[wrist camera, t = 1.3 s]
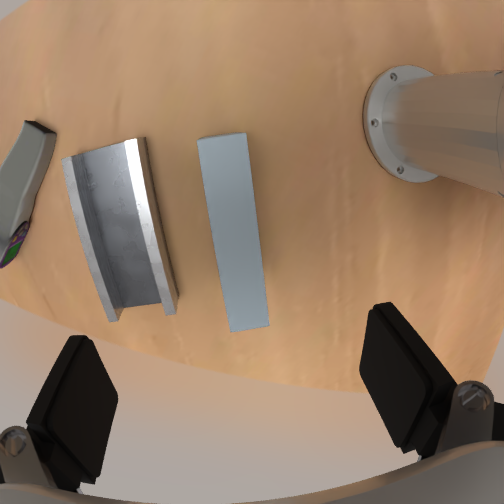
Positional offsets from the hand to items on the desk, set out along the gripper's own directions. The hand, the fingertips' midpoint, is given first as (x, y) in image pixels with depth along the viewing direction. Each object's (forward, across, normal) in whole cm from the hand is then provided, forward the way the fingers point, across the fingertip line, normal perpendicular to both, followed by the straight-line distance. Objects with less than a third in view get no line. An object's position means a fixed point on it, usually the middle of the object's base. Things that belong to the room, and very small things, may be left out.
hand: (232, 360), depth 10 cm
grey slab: (+20, 0, +1) cm, 21 cm away
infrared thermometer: (+20, +24, -7) cm, 32 cm away
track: (+20, +10, +1) cm, 22 cm away
